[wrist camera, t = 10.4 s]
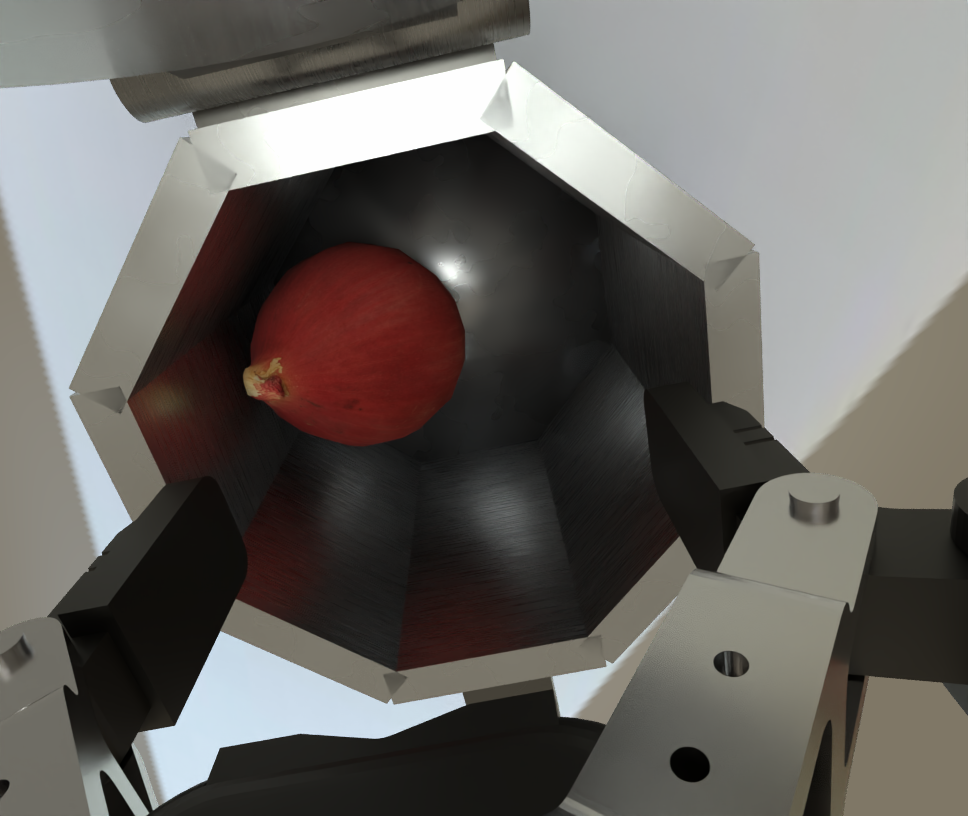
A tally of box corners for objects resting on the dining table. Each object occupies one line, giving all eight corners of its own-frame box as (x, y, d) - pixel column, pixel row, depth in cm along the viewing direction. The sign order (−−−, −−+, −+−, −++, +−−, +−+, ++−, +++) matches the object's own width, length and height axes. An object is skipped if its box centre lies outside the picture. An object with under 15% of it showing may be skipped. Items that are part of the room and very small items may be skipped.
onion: (439, 427, 23) (266, 535, 17) (346, 302, 24) (143, 362, 17) (546, 336, 20) (375, 430, 13) (435, 190, 20) (217, 215, 14)
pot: (608, 5, 19) (768, -130, 9) (662, 508, 27) (785, 741, 16) (177, 104, 20) (-111, 79, 10) (344, 569, 27) (275, 827, 17)
